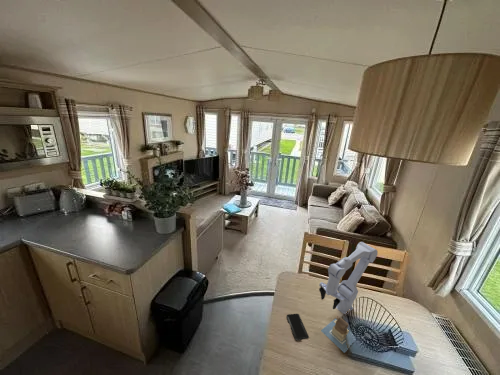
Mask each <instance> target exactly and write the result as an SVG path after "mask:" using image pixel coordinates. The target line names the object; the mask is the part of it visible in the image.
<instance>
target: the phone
mask: <svg viewBox="0 0 500 375" xmlns="http://www.w3.org/2000/svg"><path fill="white" fill-rule="evenodd" d="M286 320H287V322H288V324H289V327H290V330H291V333H292V336H293V338H294V340H295V341H297V342H298V341H302V340H306V339H307V340H308V339H309V338H310V336H309V333H308V332H307V329H306V327H305V325H304V323H303V320H302V318H301V315H300V314H299V313H290V314H286Z"/></svg>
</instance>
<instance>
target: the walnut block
mask: <svg viewBox="0 0 500 375" xmlns="http://www.w3.org/2000/svg"><path fill="white" fill-rule="evenodd" d="M348 327H349V323H348V322H347V321H346V320H344V319H343V317H339V319H337V321H336V324H335V329H336V330H337V331H339V332H340V333H341V334H343V333H345V332H346V331H347V328H348ZM348 329H349V328H348Z"/></svg>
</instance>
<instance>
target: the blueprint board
mask: <svg viewBox="0 0 500 375" xmlns="http://www.w3.org/2000/svg"><path fill="white" fill-rule="evenodd" d="M337 320H338V319H337V318H334V319H333V320H332V321H330V322H329V323H327V324H326V325H325V326H324V327H323V328H322V329H321V330H320V331H321V333H322V334H324V336H326V337H327V338H328V339H329V340H330V341H331V342H332V343H333V344H334V345H335V346H336V347H337V348H338V349H339V350H341V351H342V352H343V353H344V354H345V353H346V352H347V351H348V350H349V349H348V348H347V345H346V340H345V339H344V340H343V341H342V342H341V341H340V340H339V339H338V338H337V337H336V336H335V335H334V334H332V329H333V327H334V326H335V324H336V321H337Z"/></svg>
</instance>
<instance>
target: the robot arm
mask: <svg viewBox="0 0 500 375" xmlns="http://www.w3.org/2000/svg"><path fill="white" fill-rule="evenodd" d="M377 256H378V249H376V248H374V247H372V246H370V245H368V244H367V243H365V242H364V241H360V242H358V243H357V245H356V247H355V250H354V251H353V252H352V253H351V254H350V255H349V256H348V257H347V256H344V257H343V258H341V259H340V260H338V261H337V262H336V263H331V264H329V266H328V268H327V271H328V278H327V283H325V282H323V281H321V282H320V283H319V284H318V286H319V288H318V291H319V292H320V293H319V294H320V299H321V300H322V301H323V300H324V299H325V298H326V295H327V296H332V297H334V298H335V299H333V305H332V309H333V310H335V309H336V310H338V311H339V312H340V313H341V314H343V315H344V314H346V312H347V311H349V309H350V311H349V312H351V311H352V310H353V309H354V307H353V303H354V301H355V300H356V299H357V296H358V293H359V289H358V288H357V284H358V282H359V281H360V279H361V277H362V276H363V274H364V273H365V271H366V269H367V267H368V266H369V264H370V263H372V264H373V263H374V261H375V260H376V258H377ZM356 261H358V262H357V263H356V265H355V267H354V269H353V271H352V272H351V274H350V275H349V277H348V279H346V280H342V281H341V278H342V277H343V276H344V275H345V274H346V271H348V270H349V269H351V268H352V267H353V263H354V262H356Z"/></svg>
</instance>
